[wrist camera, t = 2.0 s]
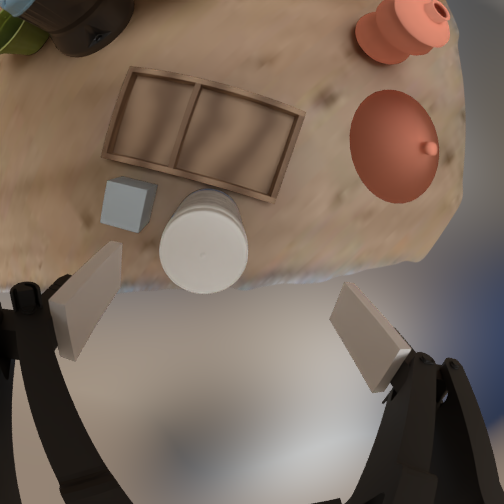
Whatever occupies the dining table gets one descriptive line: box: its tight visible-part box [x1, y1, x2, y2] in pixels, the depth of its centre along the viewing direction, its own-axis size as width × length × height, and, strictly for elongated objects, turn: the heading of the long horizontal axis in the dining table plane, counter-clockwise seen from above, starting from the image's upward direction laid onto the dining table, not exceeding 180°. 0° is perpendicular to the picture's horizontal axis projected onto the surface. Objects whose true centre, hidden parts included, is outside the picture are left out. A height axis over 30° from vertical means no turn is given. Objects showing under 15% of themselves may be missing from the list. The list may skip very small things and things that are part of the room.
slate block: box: [100, 176, 158, 233], centre depth 36 cm, size 6×6×6 cm
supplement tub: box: [159, 188, 248, 294], centre depth 34 cm, size 10×10×15 cm
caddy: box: [101, 66, 306, 204], centre depth 34 cm, size 26×14×3 cm, turn 72°
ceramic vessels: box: [350, 0, 450, 203], centre depth 28 cm, size 35×21×19 cm, turn 15°
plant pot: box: [0, 9, 49, 55], centre depth 19 cm, size 12×12×11 cm
